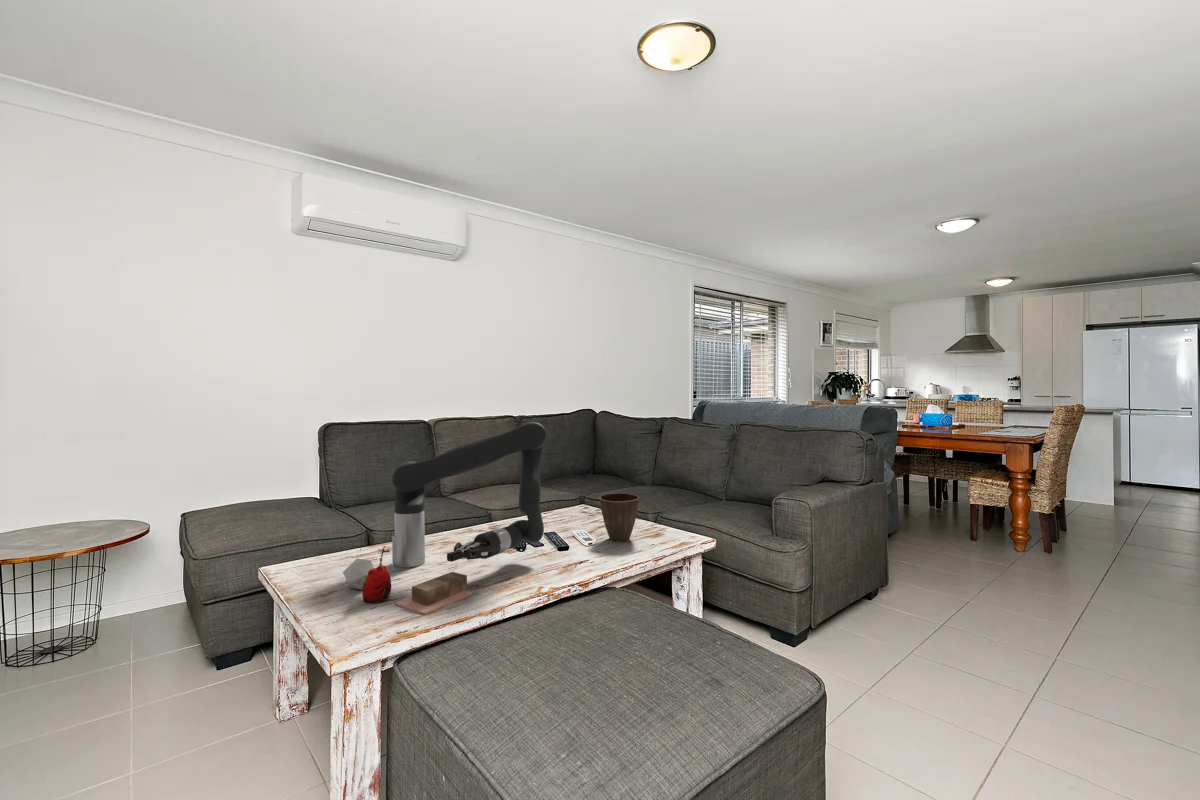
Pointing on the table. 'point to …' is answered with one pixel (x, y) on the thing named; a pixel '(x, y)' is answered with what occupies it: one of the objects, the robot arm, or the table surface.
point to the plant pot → (619, 514)
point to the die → (357, 573)
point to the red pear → (377, 583)
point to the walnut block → (439, 588)
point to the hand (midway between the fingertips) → (448, 557)
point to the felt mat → (435, 606)
